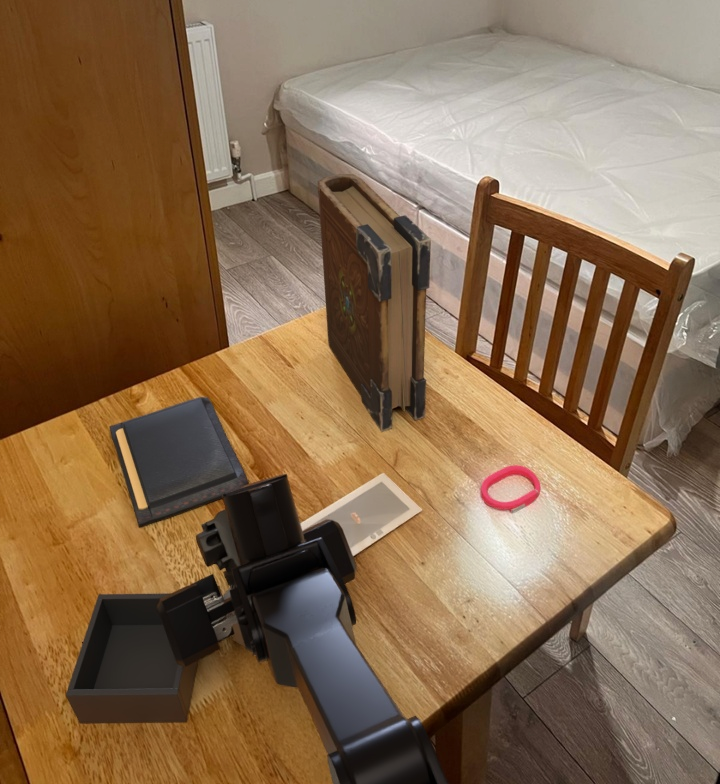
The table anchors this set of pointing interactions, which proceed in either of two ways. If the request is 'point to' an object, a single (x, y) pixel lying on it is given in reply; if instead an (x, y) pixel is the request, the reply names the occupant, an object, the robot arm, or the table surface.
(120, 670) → the open storage box
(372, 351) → the decorative book
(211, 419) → the wallet
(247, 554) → the robot arm
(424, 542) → the table surface
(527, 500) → the fitness band
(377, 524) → the white grey flat rectangle
